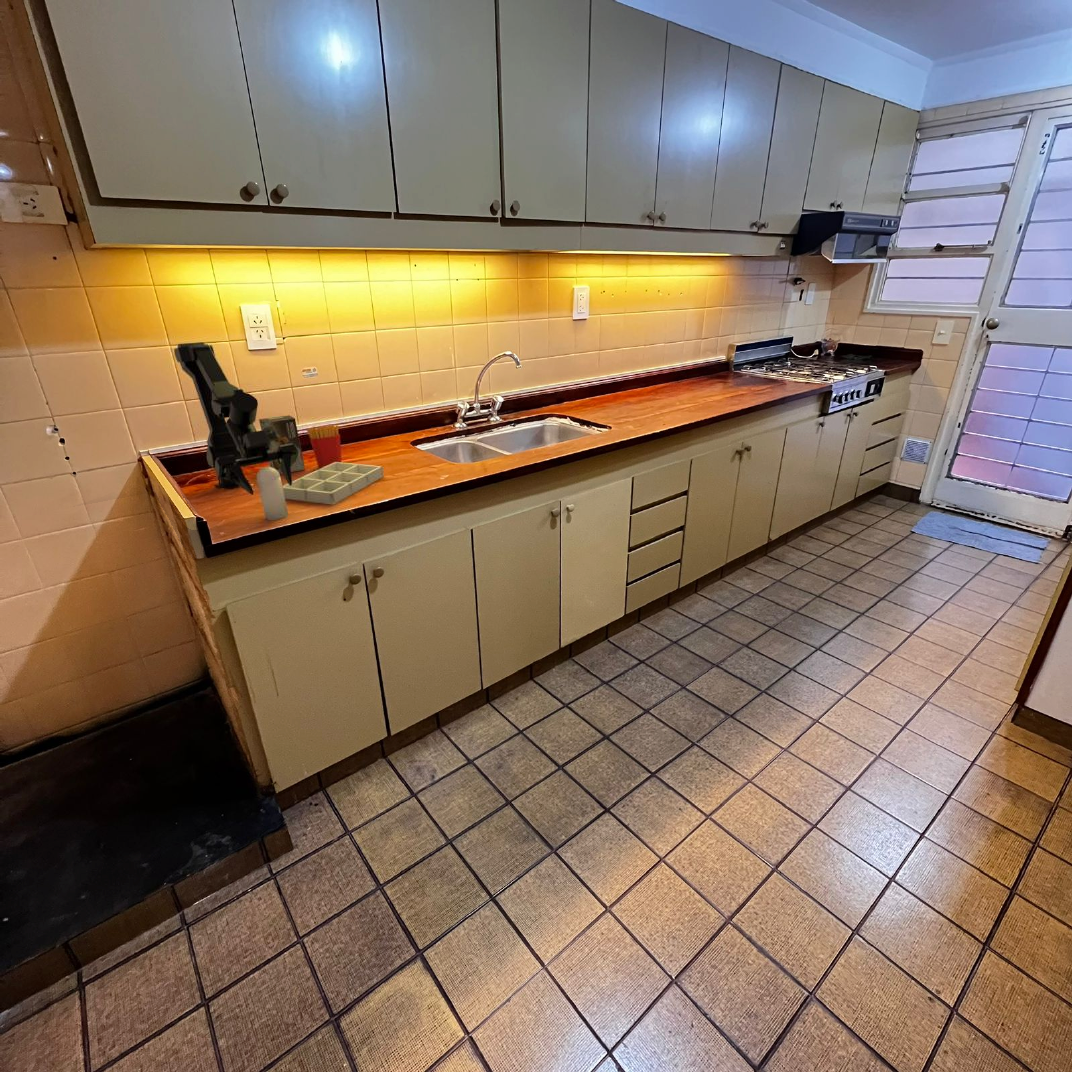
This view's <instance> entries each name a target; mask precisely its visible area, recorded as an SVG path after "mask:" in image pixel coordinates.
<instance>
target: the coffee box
mask: <svg viewBox="0 0 1072 1072" xmlns="http://www.w3.org/2000/svg"><path fill="white" fill-rule="evenodd" d="M258 421H259V424H260V429H261V430H263V429H265V427H270V426H272V427H273V429H274V431H275V433H276V436H277V438H276V439H275V440H274V441H271V443H269V444H268V445H269V447H270V448H269V450H267V452H268V453H273V452H277V451H278V446H280V445H285V444H291V443H293V444H295V445H296V446H297V448H298V450H299V452H298V456H297V459H296V462H295V463H293V464H292V466H291V473H293V472H298V471H303V470H306V466H305V461H304V456H303V452H302V451H303V450H302V447H301V446H302V445H301V441H300V436H299V433H298V431H299V430H298V427H297V423H296V422H297V421H296V418H295V417H293V416H291V415H282V416H275V417H268V418H267V417H266V418H260V419H258ZM261 430H260V431H261ZM268 464H269V465H268V467H272V468H274V469H276V470H277V471H278V472H279V474H280V475H283V473H282V471H281V469H280V465H281V464H279V463H278V461H277V460H275V461H270V462H268Z"/></svg>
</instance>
